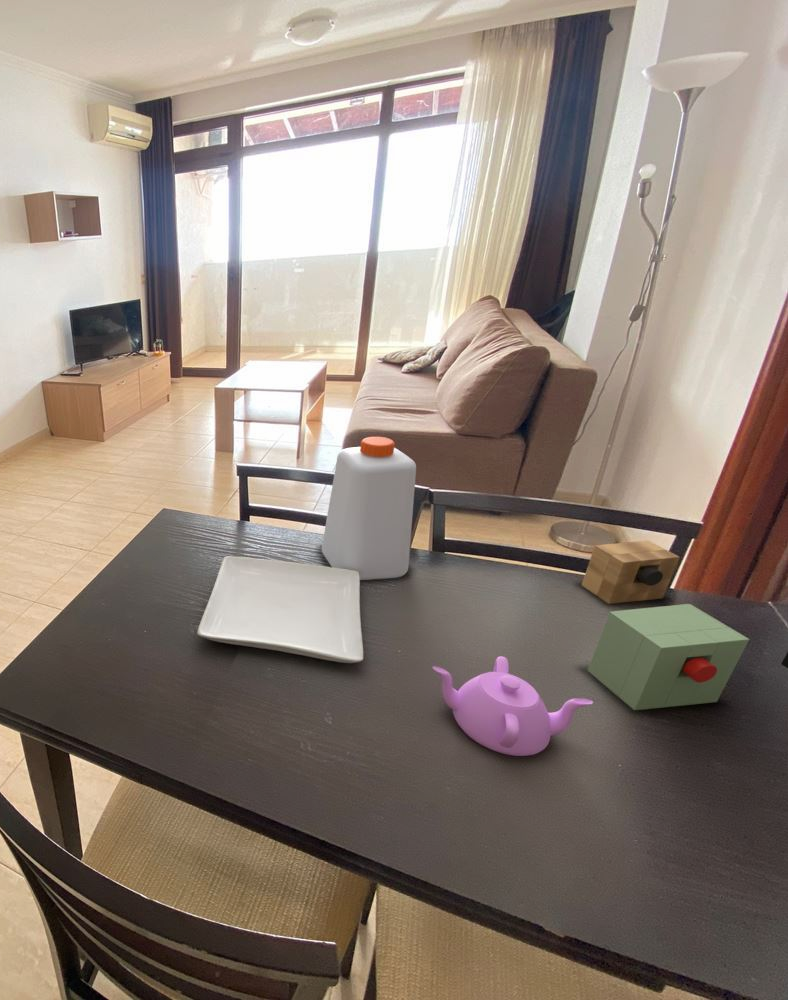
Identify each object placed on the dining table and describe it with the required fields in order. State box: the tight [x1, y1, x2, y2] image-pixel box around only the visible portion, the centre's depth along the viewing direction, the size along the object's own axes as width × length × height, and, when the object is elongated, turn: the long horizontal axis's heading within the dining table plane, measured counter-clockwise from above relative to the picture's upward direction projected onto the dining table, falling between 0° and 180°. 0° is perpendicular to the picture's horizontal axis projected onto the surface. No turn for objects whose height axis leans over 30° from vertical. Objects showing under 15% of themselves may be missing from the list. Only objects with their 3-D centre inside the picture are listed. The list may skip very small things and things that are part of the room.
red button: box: [683, 658, 717, 683], centre depth 73 cm, size 3×2×3 cm, turn 93°
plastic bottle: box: [321, 436, 417, 581], centre depth 111 cm, size 15×15×28 cm
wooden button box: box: [581, 539, 681, 605], centre depth 98 cm, size 10×6×10 cm, turn 93°
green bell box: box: [587, 603, 750, 711], centre depth 78 cm, size 12×8×12 cm, turn 93°
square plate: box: [196, 555, 364, 664], centre depth 102 cm, size 27×27×4 cm
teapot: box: [432, 656, 594, 757], centre depth 74 cm, size 12×14×9 cm
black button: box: [637, 567, 663, 586], centre depth 94 cm, size 3×2×3 cm, turn 93°
